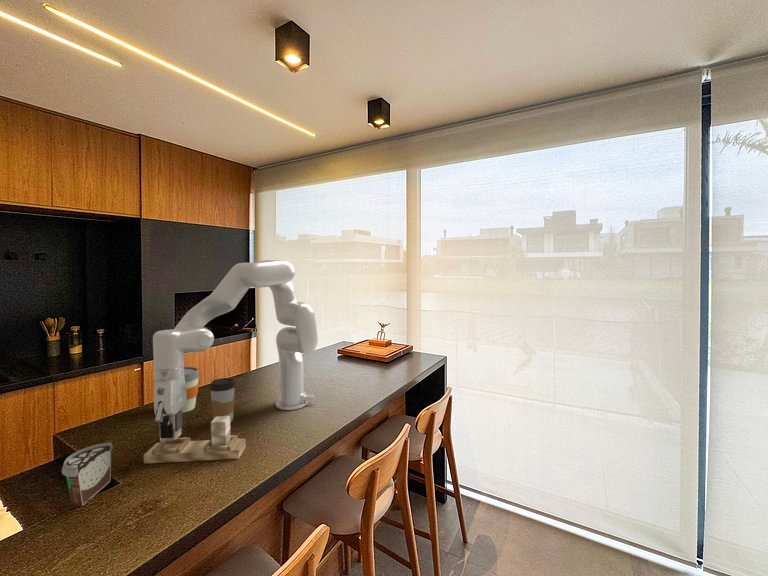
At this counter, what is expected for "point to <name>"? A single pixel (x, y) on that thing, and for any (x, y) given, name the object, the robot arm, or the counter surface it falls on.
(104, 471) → the food container
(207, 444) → the rail
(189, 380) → the reusable coffee cup
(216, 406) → the coffee cup
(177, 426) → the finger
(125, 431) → the counter surface
